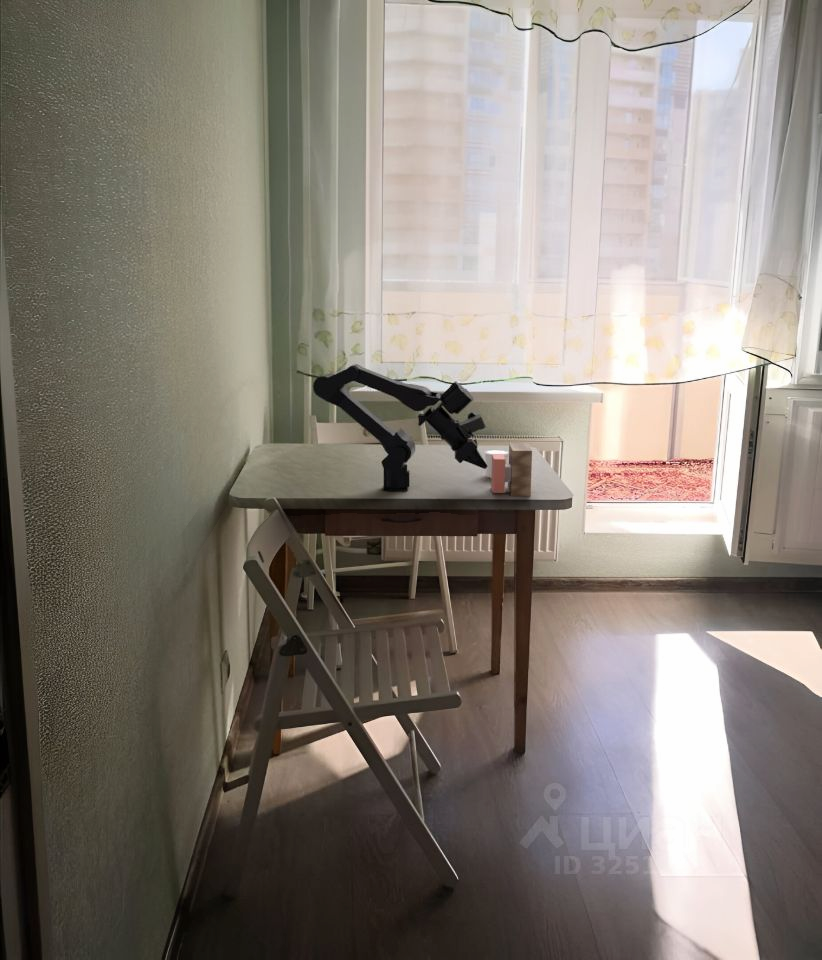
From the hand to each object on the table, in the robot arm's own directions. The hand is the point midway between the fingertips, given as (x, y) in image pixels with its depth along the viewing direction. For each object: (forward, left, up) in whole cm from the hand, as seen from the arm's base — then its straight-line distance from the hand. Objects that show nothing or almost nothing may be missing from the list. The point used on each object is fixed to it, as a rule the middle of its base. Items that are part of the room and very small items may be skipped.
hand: (486, 467), depth 243 cm
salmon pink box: (+6, 0, -6) cm, 9 cm away
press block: (+9, 0, -6) cm, 11 cm away
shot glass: (+4, +17, -7) cm, 19 cm away
